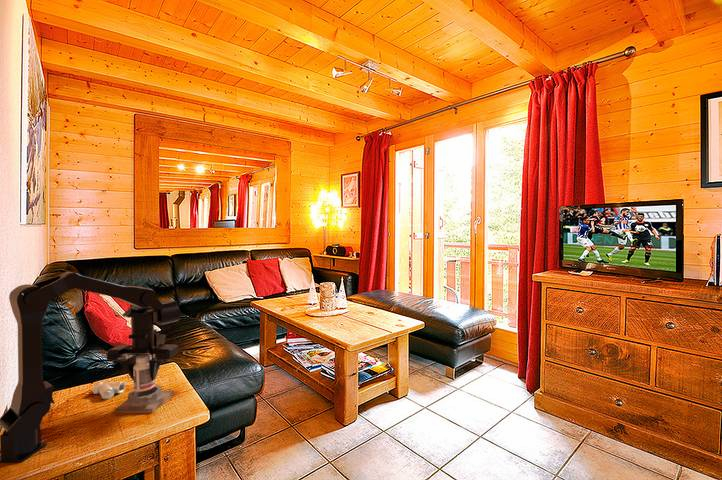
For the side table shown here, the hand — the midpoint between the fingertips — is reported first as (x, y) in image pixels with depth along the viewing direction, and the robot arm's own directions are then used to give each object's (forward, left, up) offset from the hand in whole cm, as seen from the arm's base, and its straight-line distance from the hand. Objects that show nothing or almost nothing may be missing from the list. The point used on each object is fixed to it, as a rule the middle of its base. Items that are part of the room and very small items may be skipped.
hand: (144, 379), depth 104 cm
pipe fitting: (+6, +16, -8) cm, 19 cm away
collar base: (0, 0, -7) cm, 7 cm away
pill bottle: (0, 0, -3) cm, 3 cm away
